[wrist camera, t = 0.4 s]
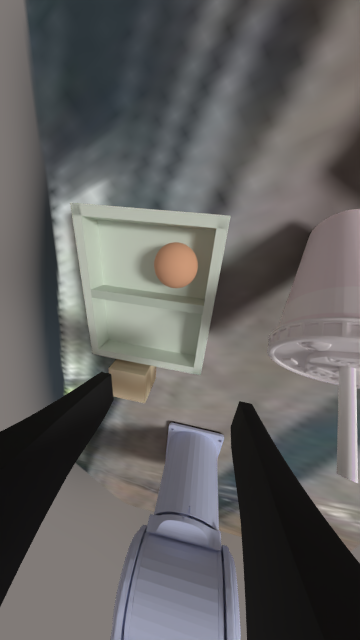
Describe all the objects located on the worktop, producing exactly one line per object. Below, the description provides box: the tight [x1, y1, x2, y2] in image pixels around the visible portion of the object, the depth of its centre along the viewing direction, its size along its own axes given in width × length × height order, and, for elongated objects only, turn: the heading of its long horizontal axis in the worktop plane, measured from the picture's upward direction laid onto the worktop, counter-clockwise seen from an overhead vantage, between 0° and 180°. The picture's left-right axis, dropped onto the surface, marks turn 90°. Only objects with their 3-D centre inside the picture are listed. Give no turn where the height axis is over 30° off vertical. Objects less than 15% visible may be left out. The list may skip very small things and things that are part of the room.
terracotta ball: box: [154, 242, 198, 288], centre depth 14 cm, size 4×4×4 cm
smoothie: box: [267, 209, 360, 483], centre depth 9 cm, size 6×6×14 cm
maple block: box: [109, 359, 156, 403], centre depth 20 cm, size 4×4×4 cm
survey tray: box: [70, 203, 231, 375], centre depth 16 cm, size 14×12×3 cm
